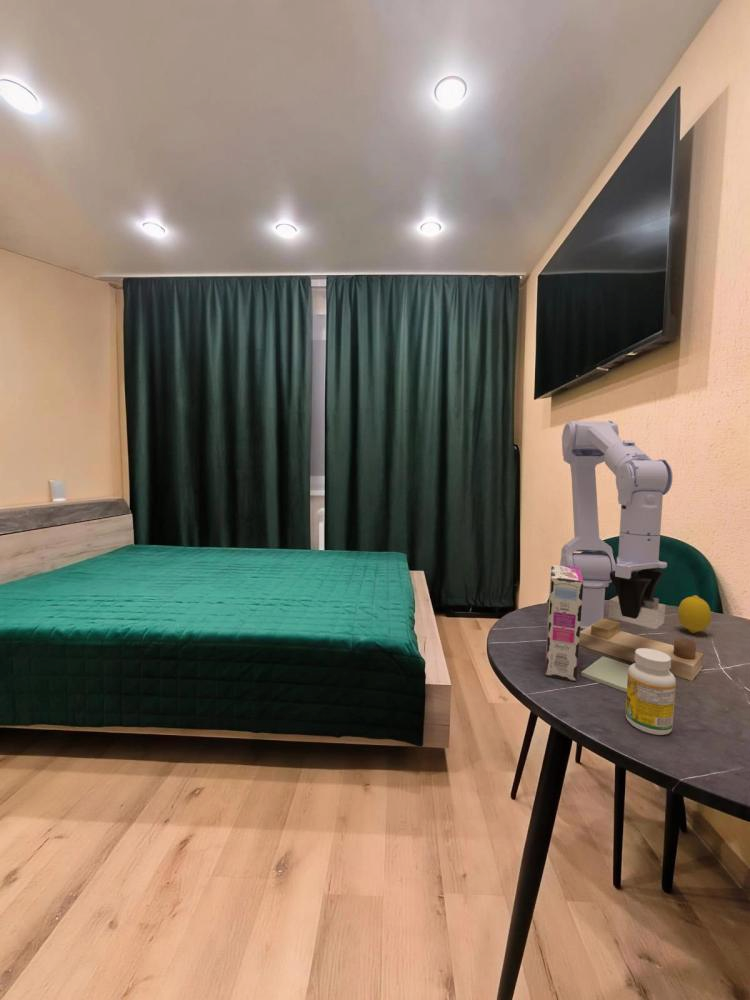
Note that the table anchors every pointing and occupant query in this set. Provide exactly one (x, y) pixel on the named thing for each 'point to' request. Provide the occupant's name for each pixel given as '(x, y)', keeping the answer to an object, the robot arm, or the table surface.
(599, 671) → the felt mat
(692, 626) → the lemon
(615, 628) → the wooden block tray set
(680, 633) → the table surface
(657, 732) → the supplement bottle
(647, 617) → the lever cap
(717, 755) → the table surface
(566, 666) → the candy bar box
